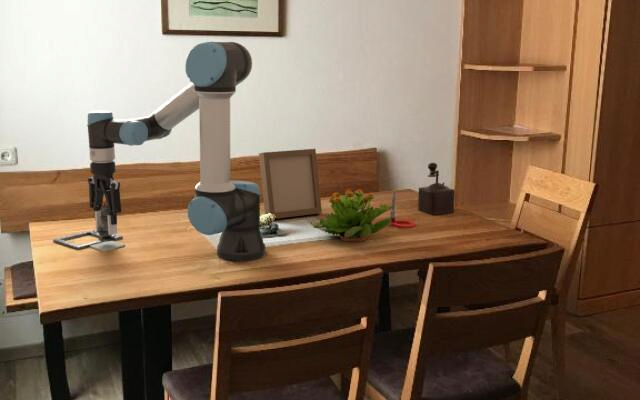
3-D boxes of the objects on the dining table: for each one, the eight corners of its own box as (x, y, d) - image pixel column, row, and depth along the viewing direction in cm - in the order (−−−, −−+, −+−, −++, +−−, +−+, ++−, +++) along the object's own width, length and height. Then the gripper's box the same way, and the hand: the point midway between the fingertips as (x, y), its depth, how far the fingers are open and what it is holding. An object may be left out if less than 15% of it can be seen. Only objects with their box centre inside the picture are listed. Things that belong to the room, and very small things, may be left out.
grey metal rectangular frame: (122, 238, 235) (122, 235, 234) (78, 249, 221) (77, 246, 221) (97, 231, 243) (97, 228, 243) (53, 241, 230) (53, 238, 230)
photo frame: (321, 215, 268) (322, 150, 262) (270, 221, 258) (270, 154, 252) (303, 207, 281) (304, 145, 275) (253, 213, 270) (253, 149, 265)
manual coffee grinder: (455, 213, 274) (458, 167, 270) (433, 216, 269) (435, 169, 265) (431, 204, 288) (433, 161, 284) (409, 207, 283) (411, 163, 279)
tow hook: (416, 224, 258) (392, 221, 261) (420, 190, 255) (395, 187, 258) (412, 230, 250) (386, 226, 253) (415, 195, 247) (389, 192, 250)
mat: (125, 246, 226) (125, 244, 226) (104, 251, 220) (104, 250, 220) (110, 241, 230) (110, 240, 230) (89, 247, 224) (89, 245, 224)
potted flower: (346, 224, 255) (347, 177, 251) (404, 235, 242) (406, 186, 238) (306, 240, 235) (306, 189, 231) (366, 253, 222) (367, 199, 218)
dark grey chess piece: (110, 242, 221) (108, 205, 218) (93, 241, 222) (91, 204, 220) (119, 237, 227) (117, 201, 224) (103, 236, 228) (101, 200, 225)
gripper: (74, 158, 221) (79, 229, 227) (110, 166, 210) (114, 240, 215) (94, 155, 227) (99, 224, 233) (131, 162, 216) (134, 235, 221)
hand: (106, 232), depth 224 cm, fingers closed on dark grey chess piece, 6 cm apart
